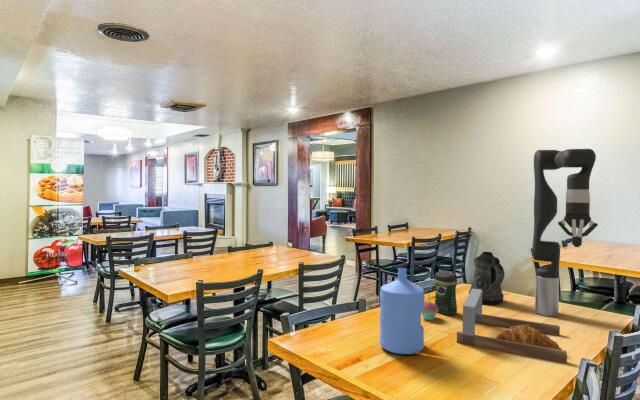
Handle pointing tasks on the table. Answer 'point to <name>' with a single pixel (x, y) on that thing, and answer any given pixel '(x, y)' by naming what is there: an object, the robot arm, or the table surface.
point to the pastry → (527, 336)
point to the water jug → (401, 316)
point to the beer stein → (488, 278)
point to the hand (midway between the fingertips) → (576, 246)
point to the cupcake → (429, 309)
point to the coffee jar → (446, 293)
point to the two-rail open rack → (474, 314)
